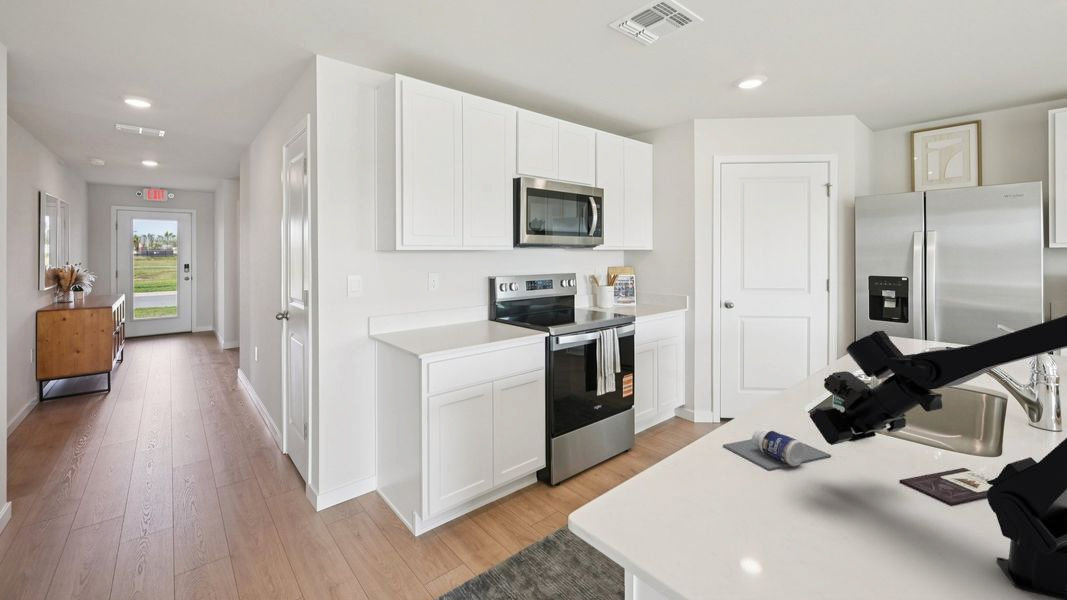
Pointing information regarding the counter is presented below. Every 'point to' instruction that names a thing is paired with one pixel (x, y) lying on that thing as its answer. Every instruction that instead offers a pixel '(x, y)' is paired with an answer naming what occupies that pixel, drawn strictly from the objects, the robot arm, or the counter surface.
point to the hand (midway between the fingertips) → (826, 439)
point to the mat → (768, 462)
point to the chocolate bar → (951, 486)
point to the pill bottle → (779, 446)
